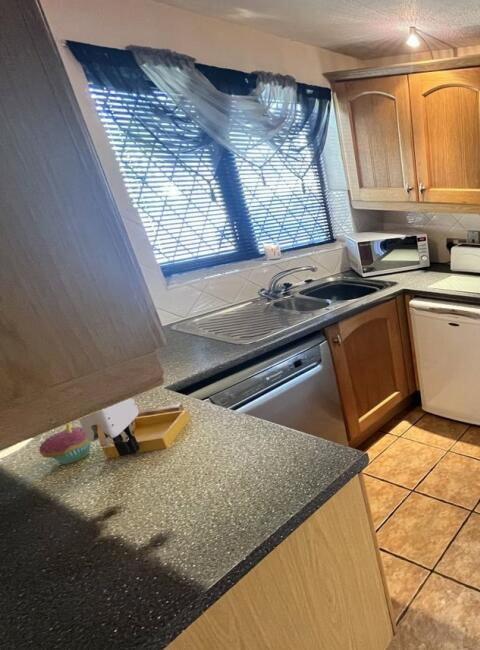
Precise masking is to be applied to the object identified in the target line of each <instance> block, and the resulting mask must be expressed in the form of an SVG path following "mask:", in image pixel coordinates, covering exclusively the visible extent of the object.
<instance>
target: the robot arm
mask: <svg viewBox="0 0 480 650" xmlns="http://www.w3.org/2000/svg"><path fill="white" fill-rule="evenodd" d="M138 410H139V408H138V406H137V404H136V401H135V399H134V397H133V398H130V399H128V400H125V401H123V402H120V403H118V404H116V405H113V406H111V407H108V408H106V409H104V410H101V411H99V412H96V413H93V414H91V415H89V416H86V417H83V418H81V419H79V418H78V421H79V423H80V425H81V428H83V431H84V433H85V435H86V437H87V439H88V440H89V441H90V443H92V442H95V441H97V440H98V442H99V445H100V447H101V448H103V447H105V446H110V445H111V444H114V445H115V447H116V449H117V451H118V453H119V455H120V456H119V457H126V456H131V455H136V454H138V453H137V451H138V450H139V449H140V447H139V445H138V442H137V440H136V438H135V436H132V435H134V434H135V431H134V428H133V423H134V421H135V420H136V417H137V415H138V413H139V411H138Z"/></svg>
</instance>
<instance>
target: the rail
mask: <svg viewBox="0 0 480 650" xmlns="http://www.w3.org/2000/svg"><path fill="white" fill-rule="evenodd" d="M181 410H185V409H184V406H183V404H182V403H174V404H169V405H163V406H156V407H149V408H143V409H138V411H139V413H138V415H137V417H142V416H149V415H155V414H162V413H168V412H175V411H181Z"/></svg>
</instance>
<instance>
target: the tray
mask: <svg viewBox="0 0 480 650" xmlns="http://www.w3.org/2000/svg"><path fill="white" fill-rule="evenodd" d="M190 421H191V417H190V415H189V412H188V410H187V409H184V410H181V411H175V412H168V413H162V414H155V415H149V416H142V417H136V420H135V421H134V423H133V428H134V431H135V434H134V435H132V436H135V438H136V440H137V442H138V445H139V447H140V449H139V450H138V451H137V453H136V454H141V453H146V452H152V451H157V450H164V449H168V448H169V446H170V445H171V444H172V443H173V442H174V440H175V439H176V437H177V436H178V435H179V434H180V433H181V431H182V430H183V429H184V428H185V426H186V425H188V423H189V422H190ZM101 449H102V452H103V453H104V455H105V458H106V459H111V458H119V457H121V456H120V455H119V453H118V451H117V449H116V447H115V445H114V444H111V445H110V446H105V447H101Z"/></svg>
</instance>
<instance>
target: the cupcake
mask: <svg viewBox="0 0 480 650" xmlns="http://www.w3.org/2000/svg"><path fill="white" fill-rule="evenodd" d="M65 427H66V429H64V430H62V431H59V432H57V433H54V434H53V435H51V436H49V437H48V438H46V439H45V440H44V441H43V442H42V443H41V444H40V446H39V447H38V448H39V453H40V455H41V456H42V458H52V459H54V460H56V461H57V462H59V463H60V464H62V465H68V464H74V463H76V462H79V461H80V460H83V459H85V458H86V457H87V456H88V455H89V454H90V452H91V442H90V441H89V440H88V439H87V437H86V435H85V433H84V431H83V428H82V426H81V427H80V426H79V427H78V426H77V427H72V426H71V423H70V424H67V425H66V424H65Z"/></svg>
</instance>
